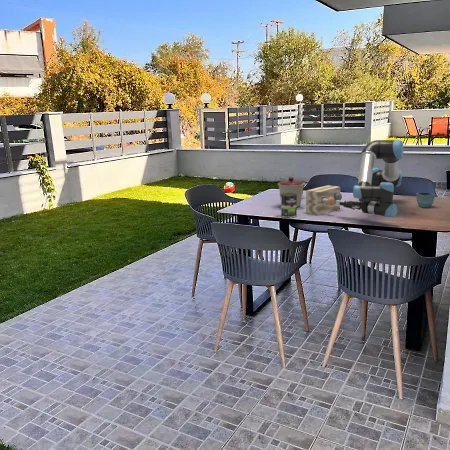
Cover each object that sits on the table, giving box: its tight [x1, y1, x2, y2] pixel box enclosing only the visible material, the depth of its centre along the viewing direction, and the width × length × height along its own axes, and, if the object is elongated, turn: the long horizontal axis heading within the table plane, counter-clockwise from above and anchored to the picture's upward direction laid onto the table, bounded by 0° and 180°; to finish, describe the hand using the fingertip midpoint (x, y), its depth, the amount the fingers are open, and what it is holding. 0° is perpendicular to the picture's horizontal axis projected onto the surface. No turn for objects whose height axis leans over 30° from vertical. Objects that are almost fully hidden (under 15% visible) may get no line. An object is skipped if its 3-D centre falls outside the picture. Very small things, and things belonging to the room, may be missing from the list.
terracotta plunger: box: [321, 197, 335, 205], centre depth 293 cm, size 12×5×5 cm, turn 42°
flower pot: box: [415, 192, 436, 209], centre depth 303 cm, size 9×9×9 cm
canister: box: [277, 176, 305, 208], centre depth 317 cm, size 18×18×21 cm
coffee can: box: [280, 193, 298, 218], centre depth 292 cm, size 10×10×14 cm
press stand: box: [305, 184, 342, 216], centre depth 302 cm, size 10×24×15 cm, turn 132°
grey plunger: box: [334, 192, 343, 201], centre depth 305 cm, size 12×5×5 cm, turn 42°
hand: (336, 202), depth 286 cm, fingers closed
